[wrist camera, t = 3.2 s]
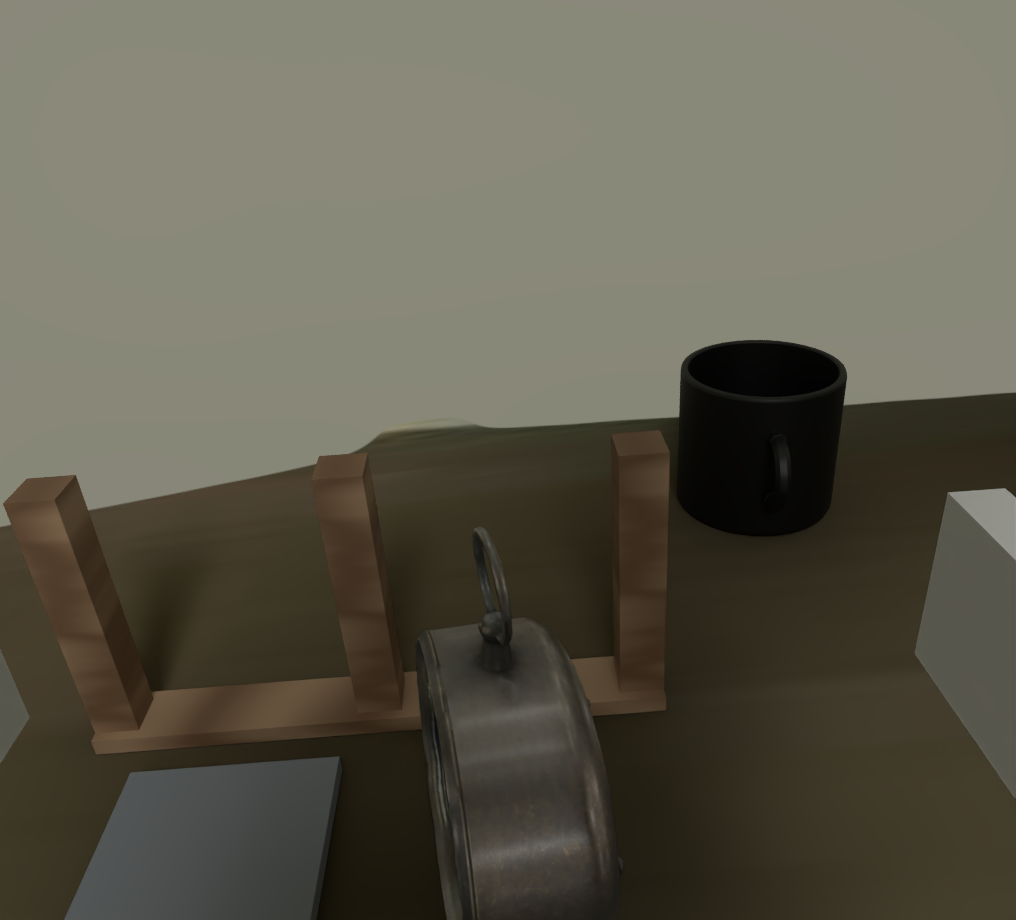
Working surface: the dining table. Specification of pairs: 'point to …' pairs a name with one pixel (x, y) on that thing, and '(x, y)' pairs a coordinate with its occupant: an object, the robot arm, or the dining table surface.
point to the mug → (759, 435)
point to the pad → (215, 844)
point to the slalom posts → (361, 609)
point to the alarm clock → (514, 769)
